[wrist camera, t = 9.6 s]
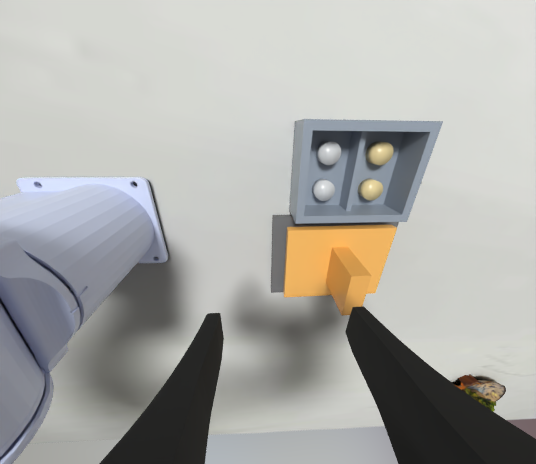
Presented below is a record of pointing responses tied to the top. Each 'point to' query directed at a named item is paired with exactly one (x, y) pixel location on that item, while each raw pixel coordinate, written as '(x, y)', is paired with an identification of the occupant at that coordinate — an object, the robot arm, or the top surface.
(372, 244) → the lid
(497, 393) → the burger
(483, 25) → the top surface
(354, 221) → the tub
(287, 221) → the mat
